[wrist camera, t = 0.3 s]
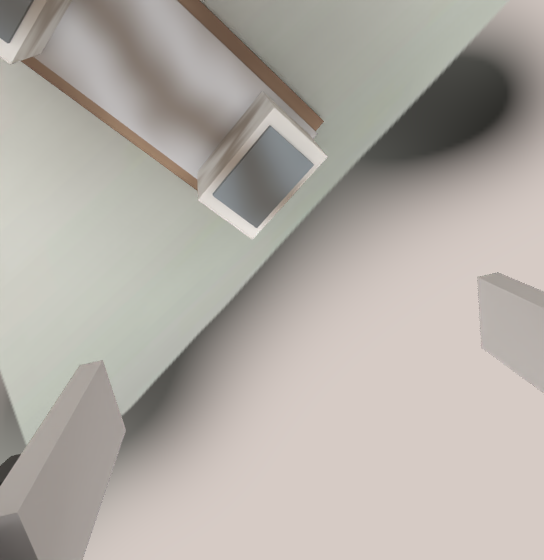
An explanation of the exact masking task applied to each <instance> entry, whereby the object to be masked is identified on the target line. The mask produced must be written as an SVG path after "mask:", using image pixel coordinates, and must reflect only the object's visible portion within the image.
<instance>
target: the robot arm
mask: <svg viewBox="0 0 544 560" xmlns="http://www.w3.org/2000/svg"><path fill="white" fill-rule="evenodd" d="M477 279H478V280H477V281H478V296H479V297H478V298H479V315H480V330H481V347H482V349H484V350H485V351H487V352H488V353H489V354H491V355H492V356H493V357H495V358H496V359H498V360H499V361H500V362H502V363H503V364H505V365H506V366H507V367H509V368H510V369H511V370H513V371H514V372H515V373H517V374H518V375H519V376H521V377H522V378H524V379H525V380H526V381H528V382H529V383H530V384H532V385H533V386H534V387H536V388H537V389H539V390H540V391H541V392H543V393H544V291H541V290H539V289H536V288H534V287H532V286H529V285H527V284H524V283H522V282H520V281H517V280H515V279H512V278H510V277H508V276H505V275H503V274H501V273H493V274H489V275H484V276H480V277H477ZM125 431H126V429H125V426H124V423H123V420H122V417H121V414H120V411H119V408H118V405H117V402H116V399H115V396H114V393H113V390H112V387H111V384H110V381H109V378H108V375H107V372H106V369H105V365H104V362H103V360H101V361H97V362H92V363H88V364H83V365H80V366H79V367H78V369H77V370H76V372H75V373H74V375H73V376H72V378H71V379H70V381H69V382H68V384H67V385H66V387H65V388H64V390H63V391H62V393H61V394H60V396H59V397H58V399H57V401H56V402H55V404H54V405H53V407H52V408H51V410H50V411H49V413H48V414H47V416H46V417H45V419H44V420H43V422H42V423H41V425H40V426H39V428H38V429H37V431H36V433H35V434H34V436H33V437H32V439H31V440H30V442H29V443H28V445H27V446H26V448H25V449H24V451H23V452H22V454H19V455H14V456H11V457H10V458H9V459H7V460H6V461H5V462H4V463H3V464H2V465H1V466H0V560H83V557H84V554H85V551H86V548H87V545H88V542H89V539H90V536H91V533H92V530H93V527H94V524H95V521H96V518H97V515H98V512H99V509H100V506H101V503H102V500H103V497H104V494H105V491H106V488H107V485H108V482H109V479H110V476H111V473H112V470H113V467H114V464H115V461H116V458H117V455H118V452H119V449H120V446H121V443H122V440H123V437H124V434H125Z"/></svg>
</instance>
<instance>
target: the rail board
mask: <svg viewBox="0 0 544 560" xmlns="http://www.w3.org/2000/svg"><path fill="white" fill-rule="evenodd" d="M0 57H1V58H2V59H3V60H5V61H6V62H8V63H9V64H10V65H11V64H13V63H16V62H19V61H22V62H23V63H24V64H26V65H27V66H28V67H30V68H31V69H32V70H34V71H35V72H36V73H38V74H39V75H41V76H42V77H43V78H45V79H46V80H47V81H49V82H50V83H51V84H53V85H54V86H56V87H57V88H58V89H60V90H61V91H62V92H64V93H65V94H66V95H68V96H69V97H71V98H72V99H73V100H75V101H76V102H77V103H79V104H80V105H81V106H83V107H84V108H86V109H87V110H88V111H90V112H91V113H92V114H94V115H95V116H96V117H98V118H99V119H100V120H102V121H103V122H105V123H106V124H107V125H109V126H110V127H111V128H113V129H114V130H115V131H117V132H118V133H120V134H121V135H122V136H124V137H125V138H126V139H128V140H129V141H130V142H132V143H133V144H135V145H136V146H137V147H139V148H140V149H141V150H143V151H144V152H145V153H147V154H148V155H150V156H151V157H152V158H154V159H155V160H156V161H158V162H159V163H160V164H162V165H163V166H164V167H166V168H167V169H169V170H170V171H171V172H173V173H174V174H175V175H177V176H178V177H179V178H181V179H182V180H184V181H185V182H186V183H188V184H189V185H190V186H192V187H193V188H194V189H196V190H197V191H198V201H200V202H201V203H203V204H204V205H205V206H207V207H208V208H209V209H211V210H212V211H214V212H215V213H216V214H218V215H219V216H220V217H222V218H223V219H225V220H226V221H227V222H229V223H230V224H232V225H233V226H234V227H236V228H237V229H238V230H240V231H241V232H243V233H244V234H245V235H247V236H248V237H250V238H251V239H252V240H253V239H254V237H255V236H256V235H257V234H258V233H259V232H260V231H261V230H262V229H263V228H264V226H265V225H266V224H267V223H268V222H269V221H270V220H271V219H272V218H273V217H274V215H275V214H276V213H277V212H278V211H279V210H280V209H281V208H282V207H283V206H284V204H285V203H286V202H287V201H288V200H289V199H290V198H291V197H292V196H293V195H294V193H295V192H296V191H297V190H298V189H299V188H300V187H301V186H302V185H303V184H304V182H305V181H306V180H307V179H308V178H309V177H310V176H311V175H312V174H313V173H314V171H315V170H316V169H317V168H318V167H319V166H320V165H321V164H322V163H323V162H324V160H325V159H326V158H327V157H328V156H327V155H326V154H325V153H324V152H323V150H322V149H321V148H320V147H319V146H318V144H317V143H316V142H315V141H314V140H313V138H314V137H315V136H316V135H317V134H318V133H317V132H316V130H317V129H318V128H319V127H320V125H321V124H322V123H323V122H324V121H323V120H322V119H321V118H320V117H319V116H318V115H317V114H316V113H315V112H314V111H313V110H312V109H311V108H310V107H309V106H308V105H307V104H306V103H305V102H304V101H303V100H301V99H300V98H299V97H298V96H297V95H296V94H295V93H294V92H293V91H292V90H291V89H290V88H289V87H288V86H287V85H286V84H285V83H284V82H283V81H282V80H281V79H280V78H279V77H278V76H277V75H276V74H275V73H274V72H273V71H272V70H271V69H270V68H269V67H267V66H266V65H265V64H264V63H263V62H262V61H261V60H260V59H259V58H258V57H257V56H256V55H255V54H254V53H253V52H252V51H251V50H250V49H249V48H248V47H247V46H246V45H245V44H244V43H243V42H242V41H241V40H240V39H239V38H238V37H237V36H236V35H235V34H233V33H232V32H231V31H230V30H229V29H228V28H227V27H226V26H225V25H224V24H223V23H222V22H221V21H220V20H219V19H218V18H217V17H216V16H215V15H214V14H213V13H212V12H211V11H210V10H209V9H208V8H207V7H206V6H205V5H204V4H203V3H202V2H201V1H199V0H0Z"/></svg>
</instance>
